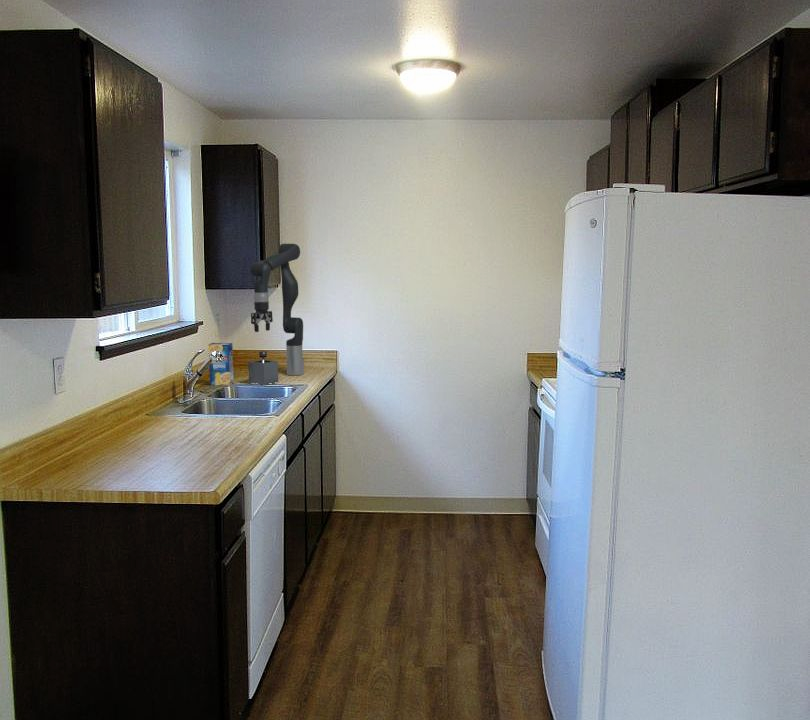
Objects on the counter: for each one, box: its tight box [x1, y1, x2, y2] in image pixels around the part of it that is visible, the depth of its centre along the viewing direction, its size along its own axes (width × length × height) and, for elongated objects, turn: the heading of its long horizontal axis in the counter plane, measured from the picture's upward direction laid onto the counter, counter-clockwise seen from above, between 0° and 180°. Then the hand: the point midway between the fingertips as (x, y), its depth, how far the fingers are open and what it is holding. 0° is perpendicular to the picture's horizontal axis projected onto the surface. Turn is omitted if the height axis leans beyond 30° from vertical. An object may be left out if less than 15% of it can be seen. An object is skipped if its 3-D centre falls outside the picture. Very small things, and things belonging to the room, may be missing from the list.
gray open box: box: [247, 359, 279, 385], centre depth 398 cm, size 11×11×12 cm
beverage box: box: [208, 342, 235, 386], centre depth 394 cm, size 7×11×22 cm, turn 87°
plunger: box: [258, 350, 268, 363], centre depth 397 cm, size 8×8×16 cm
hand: (262, 331), depth 395 cm, fingers open, 8 cm apart
